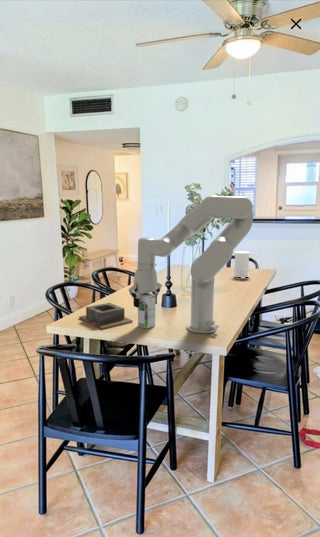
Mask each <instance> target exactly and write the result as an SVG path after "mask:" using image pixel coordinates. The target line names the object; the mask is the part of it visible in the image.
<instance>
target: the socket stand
mask: <svg viewBox="0 0 320 537" xmlns="http://www.w3.org/2000/svg"><path fill="white" fill-rule="evenodd" d="M85 314H86V315H85ZM85 314H84V315H81V316H78V319H79V320H81V321H83V322H85V323H87V324H89V325H91V326H94V328H95V327H96V328H98V329H99V330H106V329H110V328H114V327H119V326H123V324H124V325H128V324H132V323H133V320H132V319H131V318H128V317H125V308H124V307H122V306H118V305H116V304H113V303H112V302H107V303H102V304H97V305H92V306H87V307H85Z"/></svg>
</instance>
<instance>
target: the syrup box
mask: <svg viewBox="0 0 320 537" xmlns="http://www.w3.org/2000/svg"><path fill="white" fill-rule="evenodd" d="M155 302H156V295H155V294H153V293H151V292H150V293H144V294H140V296H139V308H137V326H138V327H140V328H143V329H150V328H153V327H155V326H156V304H155Z"/></svg>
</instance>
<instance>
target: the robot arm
mask: <svg viewBox="0 0 320 537" xmlns="http://www.w3.org/2000/svg"><path fill="white" fill-rule="evenodd" d="M253 206H254V205H253V203H252V201H251V199H249V198H248V197H246V196H229V195H227V196H224V195H208V196H206V197H205V198H203V199H202V201H201V202H200V203H198V204H197V205H196V206H195V207H193V209H190V210H191V211H189V212H188V213H187V214H186V215H184V216H183V217H182V218H181V219H180V220H179V222H178V223H177V224H176V225H175V226H174V227H173V228H172V229H171V230H170V231H168V233H166V234H165V235H164V236H162V238H160V239H155V238H153V237H140V238H139V239H138V241H137V269H135V272H134V276H133V285H132V286H130V288H128V291H129V294H130V295H129V296H131V297H132V299H133V301H132V302H133V307H134V308H137V309H138V308H139V296H140V294H144V293H150V294H155V295H156V302H155V305H157V304H158V296H159V293H160V291H161V289H162V286H163V284H161V283H160V282H158V275H157V274H158V273H157V269H156V267H157V262H156V257H160V258H167V257H168V256H170V255H171V254H172V253H173V252H174V251H175V250H176V249H178V247H180V246H181V245H182V244H183V243H184V242H185V241H187V240H188V239H190V238H191V237H193V236H195V235H196V234H198V233H199V232H200V231H201V230H202V229H203V228H204V227H205V226H207V225H208V224H210V222H211V221H213V220H214V219H231V220H230V222H229V223H228V224H227V225H226V227H224V229H223V230H222V231H221V232H220V233H219V235H217V237H215V238H214V239H213V240H212V241H211V242H210V244H209V246H208V247H207V248H206V250H204V251H203V252H202V253H201V255H200V256H198V257H196V258H195V259H193V262H192V264H191V267H190V276H191V285H190V286H191V292H190V294H191V295H190V297H191V298H190V299H191V300H190V323H188V324H187V325H186V329H187V331H189V332H192V333H196V334H211V333H214V332H216V331H218V328H219V325H218V324H217V323H215V322H216V321H215V319H214V295H215V276H216V275H217V274H218V273H219V272H220V271H221V270H222V269H223V268H224V267H225V266H226V265H227V264H228V263H229V261H230V260H231V259H232V256H233V254H234V250H235V249H236V248H237V247H238V246H239V244H240V243H241V242H242V241H243V240H244V239H245V237H247V235H248V234H249V232H250V230H251V229H252V227H253V222H254V221H253V220H254V212H253V210H254V209H253V208H254V207H253Z"/></svg>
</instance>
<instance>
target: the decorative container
mask: <svg viewBox="0 0 320 537" xmlns="http://www.w3.org/2000/svg"><path fill="white" fill-rule="evenodd" d="M233 254H234V255H235V256H234V270H233V271H234V272H233V273H234V274H233V275H232V277H233V276H234V277H233V278H235V277H248V276H249V277H250V275H249V267H250V266H249V264H250V261H249V260H250V254H251V252H250V251H245V250H243V251H241V250H239V251H238V250H237V251H234V252H233Z"/></svg>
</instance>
